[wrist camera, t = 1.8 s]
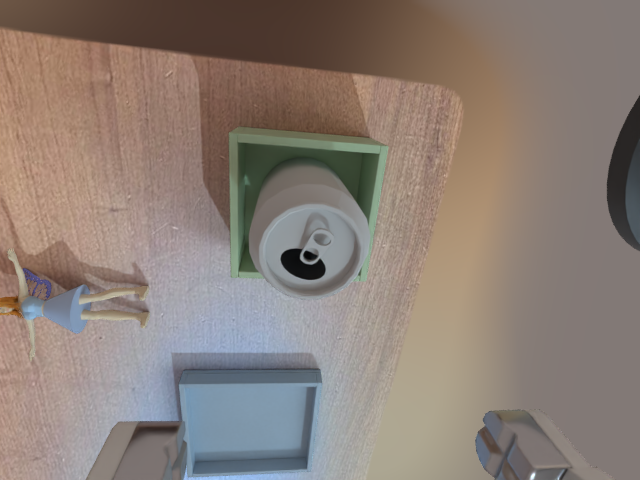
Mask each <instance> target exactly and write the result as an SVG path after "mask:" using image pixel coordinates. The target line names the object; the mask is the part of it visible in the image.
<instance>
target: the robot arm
mask: <svg viewBox="0 0 640 480" xmlns="http://www.w3.org/2000/svg"><path fill="white" fill-rule="evenodd" d="M483 422H484V424H485V426H484V427H483V428H482V429H481V430H480V431H478V434H477V437H476V440H475V441H476V451H477V454H478V457H479V460H480V462H481V464H482V466H483V468H484V469H485V470H486V471H487V472H488V473H489V474H490V475H492V476H493V477H494V478H495V480H615V479H614V478H613V477H611V476H610V475H608V474H607V473H605V472H604V471H602V470H600V469H599V468H597V467H591V466H590V465H589V464H588V462H587V461H586V460H585V459H584V458H583V456H582V455H581V454H580V453H579V452H578V451H577V449H576V448H575V447H574V446H573V445H572V443H571V442H570V441H569V440H568V439H567V438H566V436H565V435H564V434H563V433H562V432H561V430H560V429H559V428H558V427H557V426H556V425H555V423H554V422H553V421H552V420H551V419H550V418H549V416H548V415H547V414H546V413H545V412H543V411H541V410H501V411H489V412H488V413H486V414H485V416H484V418H483ZM185 431H186V428H185V421H129V422H118V423H117V424H116V425H115V426H114V427H113V428H112V430H111V432H110V434H109V436H108V438H107V440H106V442H105V444H104V445H103V447H102V449H101V451H100V453H99V455H98V457H97V459H96V461H95V463H94V465H93V467H92V469H91V471H90V473H89V474H88V476H87V478H86V480H183V479H184V475H185V469H186V463H187V442H185V441H184V440H183V439H184V435H185Z"/></svg>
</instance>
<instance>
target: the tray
mask: <svg viewBox="0 0 640 480" xmlns="http://www.w3.org/2000/svg"><path fill="white" fill-rule="evenodd" d="M321 388H322V378H321V370H320V369H305V370H184V371H183V374H182V376H181V379H180V382H179V394H180V404H181V414H182V421H185V428H186V431H185V435H184V441H185V442H187V463H186V465H187V475H188V477H209V476H230V475H252V474H274V473H295V472H311V468H312V460H313V452H314V444H315V436H316V428H317V420H318V412H319V404H320V396H321Z"/></svg>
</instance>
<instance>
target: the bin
mask: <svg viewBox="0 0 640 480" xmlns="http://www.w3.org/2000/svg"><path fill="white" fill-rule="evenodd" d="M387 152H388V146H387V145H385V144H382V143H380V142H378V141H376V140H374V139H372V138H365V137H354V136H342V135H331V134H319V133H308V132H296V131H284V130H273V129H261V128H250V127H238V128H236V129H234V130H233V131H231V132H229V187H230V254H231V278H238V277H239V278H261V279H264V277H263V276H262V275H261V274H260V273H259V272H258V270H257V269H256V268H255V265H254V263H253V260H252V258H251V255H250V253H249V231H250V227H251V223H252V220H253V216H254V212H255V208H256V204H257V200H258V196H259V193H260V189H261V186H262V183H263V180H264V179H265V177H266V176H267V175H268V173H269V172H270V171H271V169H273V168H274V167H275V166H277V165H278V164H280V163H281V162H283V161H285V160H289V159H292V158H296V157H305V158H313V159H316V160H318V161H321V162H324V163H325V164H326V165H328V166H329V167H330V168H331V169H332V170H334V171H335V173H336V174H337V175H338V177H339V178H340V180H341V181H342V183H343V184H344V185H345V187H346V188H347V190H348V191H349V192H350V194H351V195H352V197H353V198H354V200H355V201H356V202H357V204H358V206H359V207H360V209H361V210H362V212H363V214H364V215H365V217H366V218H367V222H368V227H369V231H370V243H369V251H368V255H367V257H366V259H365V261H364V263H363V265H362V267H361V269H360V271H359V273H358V275H357V277H356V278H355V279H354V280H353V281H364V282H365V281H366V279H367V272H368V266H369V260H370V254H371V248H372V242H373V236H374V230H375V224H376V218H377V212H378V206H379V200H380V194H381V188H382V182H383V176H384V170H385V164H386V158H387Z"/></svg>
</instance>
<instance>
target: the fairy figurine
mask: <svg viewBox="0 0 640 480" xmlns="http://www.w3.org/2000/svg"><path fill="white" fill-rule="evenodd" d="M12 251H13V248H12ZM12 251H11V249H10V251H9V249H8V251H7V253H8V254H9V253H10V254H9V256H10V257H9V256H8V258H9V259H10V260H11V261H13V262H14V265H15V270H16V273H17V275H18V278H19V295H18V297H3V298H0V315H5V314H6V315H7V316H8V315H9V314H11V315H12V314H13V315H17V316H19V315H20V316H19V317H20V318H21V316H22V315H21V314H20V313H19V310H20V311H21V313H22V314H23V316H24V318H25V319H26V322H27V324H28V327H29V338H30V342H31V349H30V353H29V359H30V361H32V359H33V355H34V357H35V325H34V318H36V317H38V316H41V317H46V318H48V319H50V320H52V321H53V322H55V323H57V324H59V325H61V326H63V327H65V328H67V329H68V330H70V331H72V332H74V333H77V334H78V333H80V332H81V331H82V330H83V329H84V327H85V325H86V323H87V320H97V319H105V320H112V321H119V320H128V319H137V320H139V321H140V322H141V328H146V325H147V323H148V321H149V318H150V312H142V313H131V312H124V311H117V310H101V311H90V306H91V302H94V301H100V300H106V299H110V298H113V297H118V296H122V295H127V294H138V295H139V300H141V301H144V300H145V298H146V296H147V294H148V292H149V286H141V287H136V288H112V289H109V290H107V291H104V292H101V293H97V294H90V291H89V289H88V287H87V286H86V285H81V286H78V287H76V288H74V289H71V290H69V291H67V292H65V293H62V294H60V295H58V296H56V297H53V298H51V299H49V300H47V301H45V300H46V299H45V300H41V299H39V298H38V296H39V295H38V296H37V297H35V296H33V295H34V294H35V293H36V292H35V290H36V288H37V286H38V285H39V284H43V283H45V285H47V287H46V288H47V292H46V293H45V294H47V295H48V296H47V295H46V296H45V297H47V299H48V297H49V296H50V293H51V283H50V282H49V281H48V280H44V281H43V280H40V278H38V277H37V276H35V275H34V274H32V273H31V272H30V271H29V270H27V269H24V268H23V270H22V268H21V266H20V265H19V262H18V260H17V256H16V254H15V253H14V251H13V252H12ZM24 270H25V271H24ZM26 271H27V272H26ZM25 272H26V273H27V276H28V274H29V277H27V276H26V275H25ZM28 272H29V273H28ZM30 275H31V278H30ZM34 276H35V277H34ZM26 277H27V279H26V280H28V279H30V280H33V281H34V280H35V281H34V282H37V285H36V287H35V288H34V290H33V293H32V296H30V295H31V294H30V295H29V294H28V291H30V290H28V285H27V282H26V280H25V278H26ZM33 278H34V279H33ZM37 279H38V280H37ZM40 281H42V282H40ZM30 282H31V281H30ZM45 285H44V286H45ZM49 285H50V286H49ZM40 286H41V285H40ZM39 288H40V287H39ZM46 288H45V289H46ZM48 288H49V289H48ZM30 289H31V288H30ZM42 289H43V288H42ZM42 289H41V290H42ZM38 290H39V289H38ZM48 290H49V291H48ZM37 292H38V291H37ZM49 292H50V293H49ZM40 293H41V292H40ZM45 297H44V298H45ZM17 311H18V312H17ZM19 317H18V318H19ZM22 318H23V317H22ZM24 318H23V319H24Z"/></svg>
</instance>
